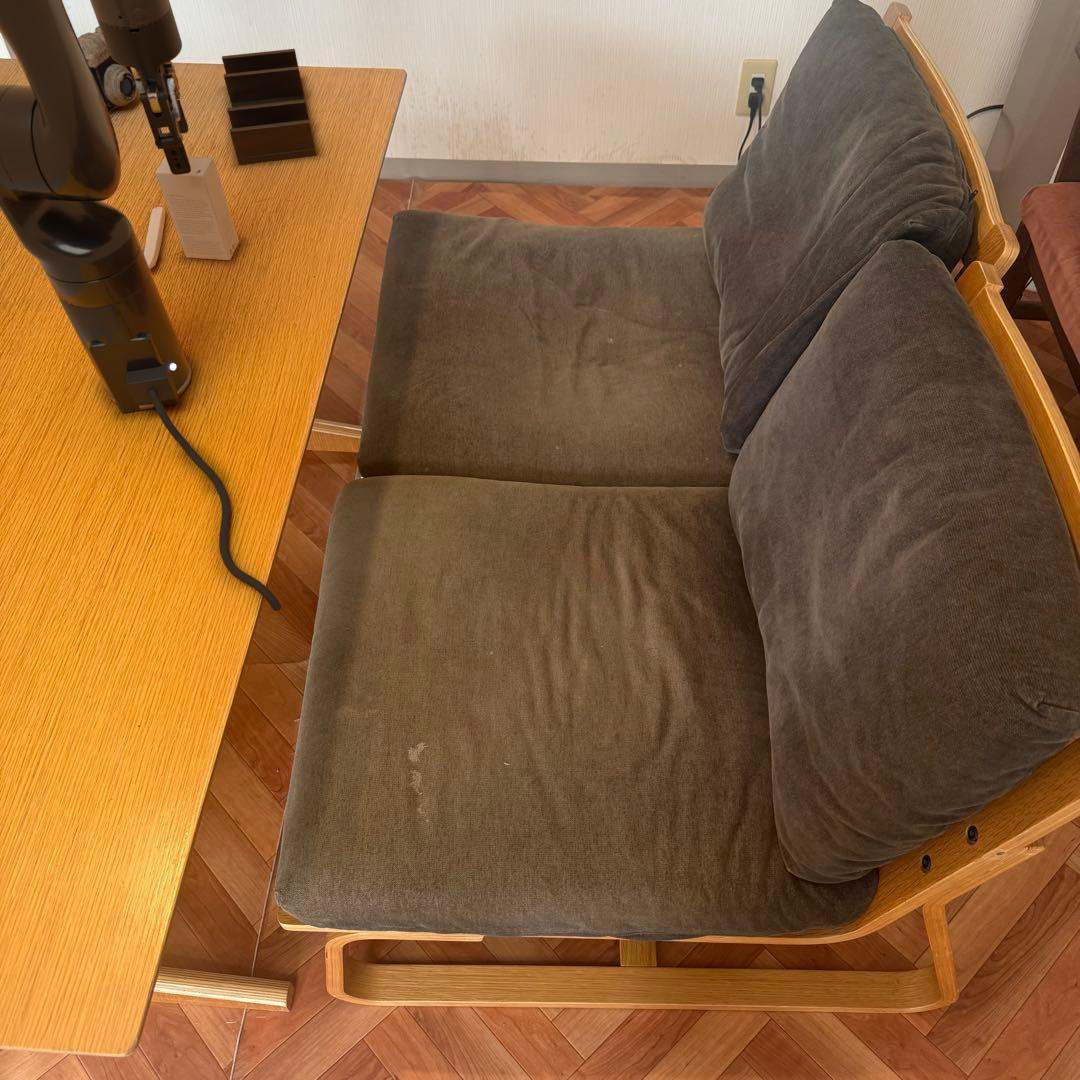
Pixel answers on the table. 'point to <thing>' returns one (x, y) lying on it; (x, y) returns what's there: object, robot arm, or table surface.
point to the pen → (154, 236)
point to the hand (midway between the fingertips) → (180, 152)
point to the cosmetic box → (199, 209)
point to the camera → (108, 71)
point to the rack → (267, 107)
